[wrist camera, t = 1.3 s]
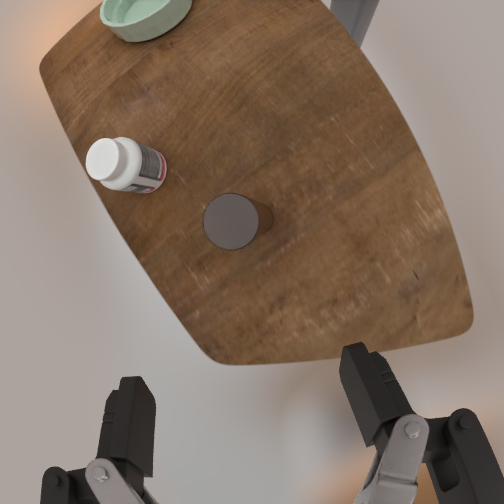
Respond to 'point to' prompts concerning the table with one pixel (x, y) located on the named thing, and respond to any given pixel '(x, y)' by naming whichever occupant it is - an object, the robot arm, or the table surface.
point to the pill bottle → (126, 165)
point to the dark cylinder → (235, 221)
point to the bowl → (142, 17)
